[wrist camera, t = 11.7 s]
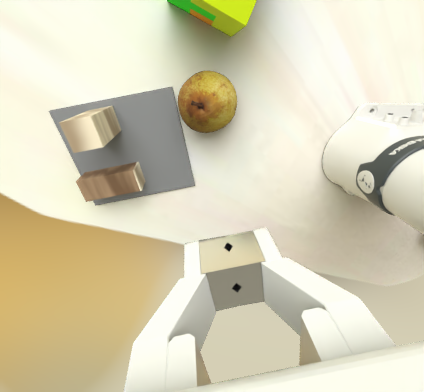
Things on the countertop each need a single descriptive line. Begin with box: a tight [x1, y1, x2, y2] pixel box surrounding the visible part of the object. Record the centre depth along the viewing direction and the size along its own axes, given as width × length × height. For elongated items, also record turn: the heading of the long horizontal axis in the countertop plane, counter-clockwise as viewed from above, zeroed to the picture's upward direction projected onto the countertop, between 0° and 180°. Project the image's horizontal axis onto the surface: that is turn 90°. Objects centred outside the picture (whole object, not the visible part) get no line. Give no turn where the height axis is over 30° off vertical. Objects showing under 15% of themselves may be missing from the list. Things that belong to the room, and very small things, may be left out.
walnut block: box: [76, 162, 145, 202], centre depth 41 cm, size 4×4×10 cm
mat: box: [49, 87, 195, 205], centre depth 41 cm, size 20×18×1 cm
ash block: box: [59, 106, 121, 153], centre depth 34 cm, size 4×4×10 cm
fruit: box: [178, 71, 237, 133], centre depth 34 cm, size 9×9×12 cm
